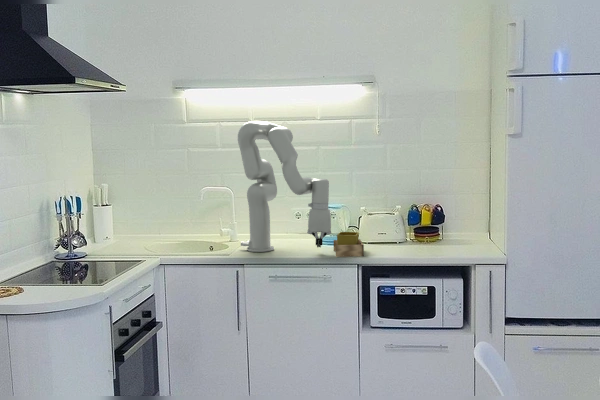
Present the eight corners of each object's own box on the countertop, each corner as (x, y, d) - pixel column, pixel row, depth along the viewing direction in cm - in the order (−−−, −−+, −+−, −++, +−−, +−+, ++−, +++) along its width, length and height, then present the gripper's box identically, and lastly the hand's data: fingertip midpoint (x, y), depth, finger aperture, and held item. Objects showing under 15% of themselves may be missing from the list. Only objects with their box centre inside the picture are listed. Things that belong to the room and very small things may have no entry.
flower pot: (356, 255, 288) (355, 235, 287) (336, 254, 290) (336, 234, 289) (359, 251, 296) (359, 232, 296) (340, 251, 299) (340, 231, 298)
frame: (335, 256, 285) (335, 245, 285) (333, 250, 300) (333, 240, 299) (363, 256, 285) (363, 244, 285) (360, 250, 300) (360, 239, 299)
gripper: (303, 207, 287) (302, 248, 289) (337, 207, 287) (336, 248, 289) (303, 205, 294) (302, 244, 296) (336, 205, 294) (334, 245, 296)
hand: (318, 246), depth 293 cm, fingers closed
